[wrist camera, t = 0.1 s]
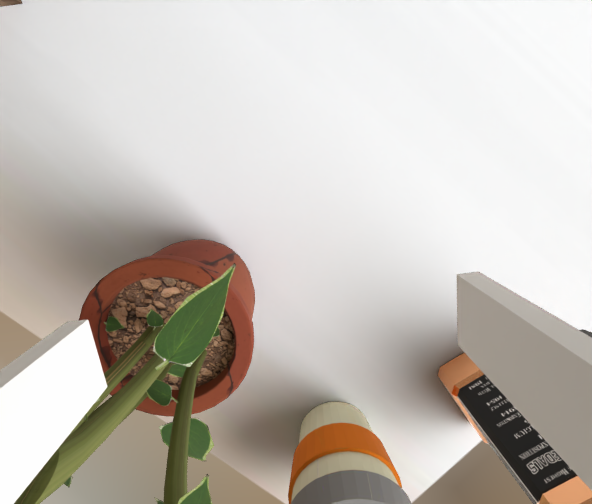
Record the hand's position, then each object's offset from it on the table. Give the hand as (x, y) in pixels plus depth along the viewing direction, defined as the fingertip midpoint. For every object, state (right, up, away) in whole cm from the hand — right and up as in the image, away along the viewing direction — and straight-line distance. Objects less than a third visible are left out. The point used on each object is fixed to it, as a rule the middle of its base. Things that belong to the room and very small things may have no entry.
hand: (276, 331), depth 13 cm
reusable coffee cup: (+6, -21, +34) cm, 40 cm away
